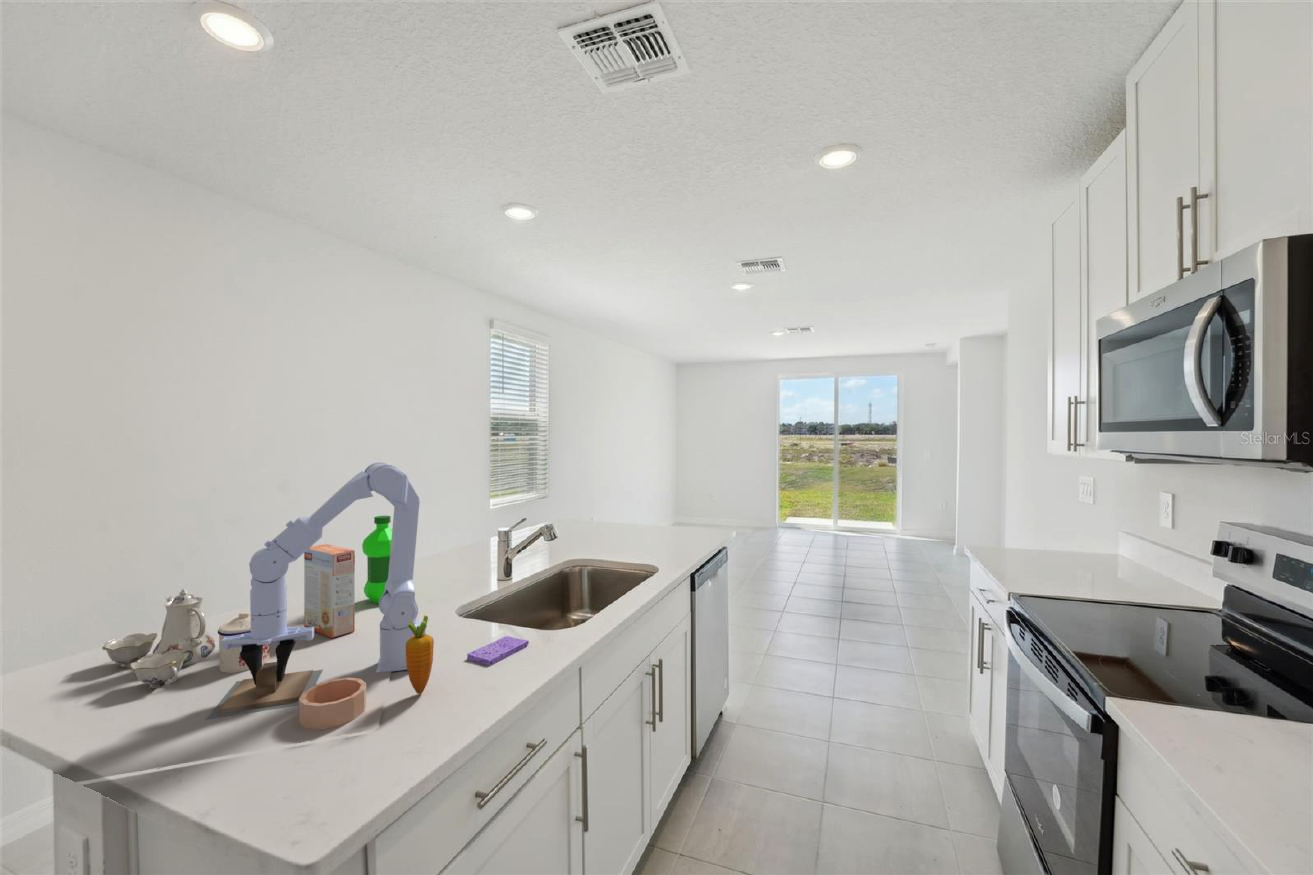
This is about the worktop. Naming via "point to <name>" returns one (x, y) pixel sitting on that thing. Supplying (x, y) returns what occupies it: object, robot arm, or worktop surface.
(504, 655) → the sponges
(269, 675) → the walnut lid
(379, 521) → the plastic bottle
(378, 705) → the worktop surface
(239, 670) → the teacup with lid
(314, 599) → the cracker box
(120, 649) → the chinaware
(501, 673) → the worktop surface
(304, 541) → the robot arm
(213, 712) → the rubber mat
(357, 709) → the terracotta bowl
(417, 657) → the carrot
